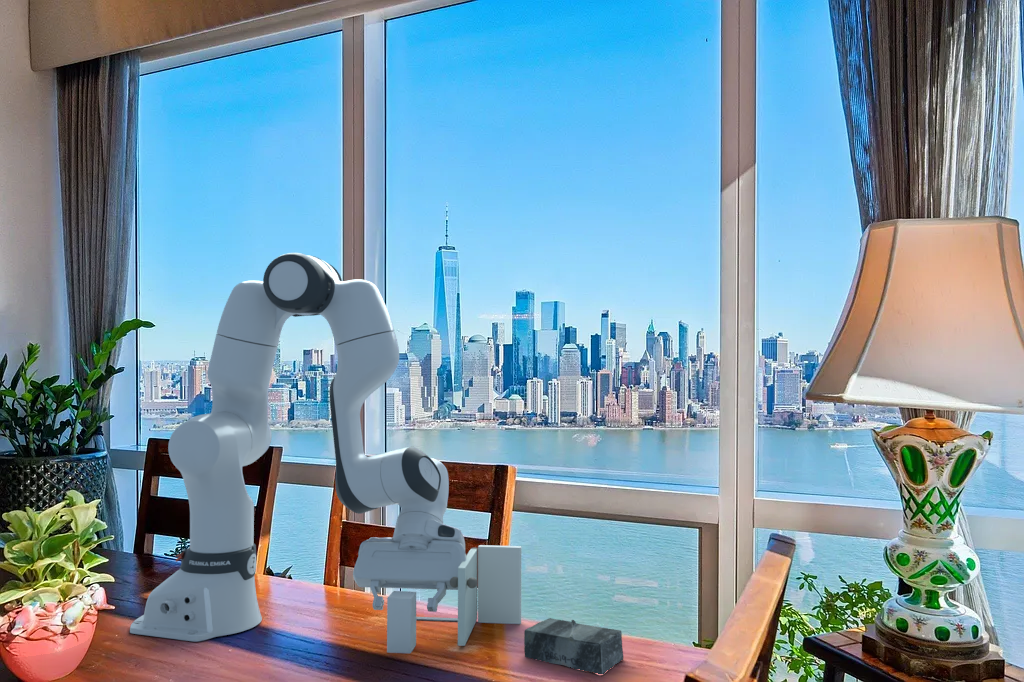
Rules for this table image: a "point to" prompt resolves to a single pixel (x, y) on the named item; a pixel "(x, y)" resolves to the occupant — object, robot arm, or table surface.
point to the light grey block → (401, 622)
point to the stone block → (574, 645)
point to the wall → (496, 585)
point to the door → (466, 595)
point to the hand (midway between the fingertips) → (404, 609)
